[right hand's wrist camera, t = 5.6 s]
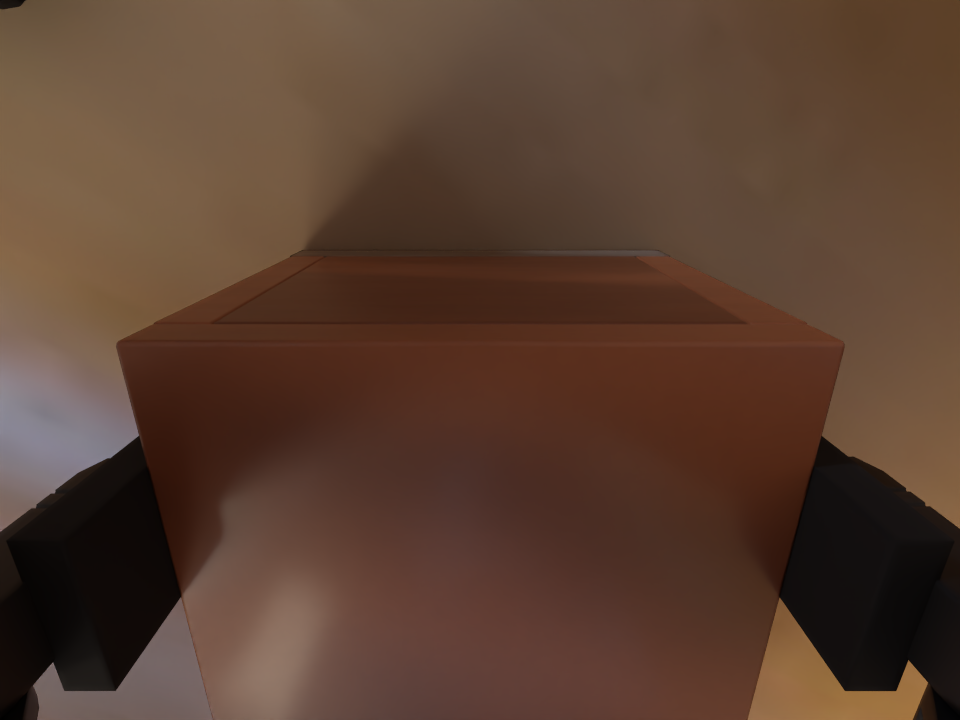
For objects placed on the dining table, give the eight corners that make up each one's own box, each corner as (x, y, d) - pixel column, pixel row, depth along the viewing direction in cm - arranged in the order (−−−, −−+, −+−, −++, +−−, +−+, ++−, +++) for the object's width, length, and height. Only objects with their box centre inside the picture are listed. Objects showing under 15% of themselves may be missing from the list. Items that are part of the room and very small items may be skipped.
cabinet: (603, 714, 23) (671, 1018, 15) (356, 714, 23) (288, 1018, 15) (658, 250, 16) (850, 341, 8) (301, 250, 16) (110, 340, 8)
